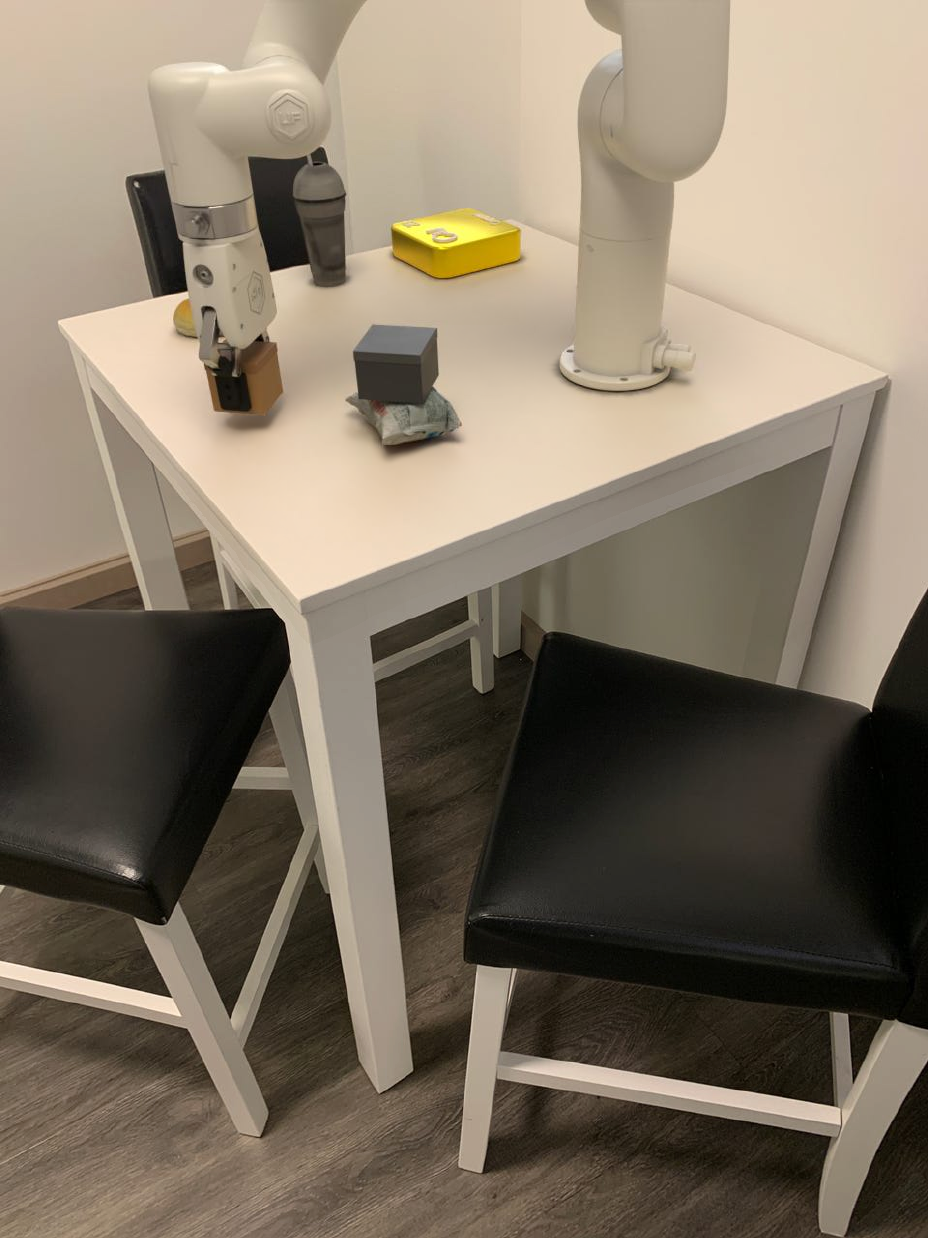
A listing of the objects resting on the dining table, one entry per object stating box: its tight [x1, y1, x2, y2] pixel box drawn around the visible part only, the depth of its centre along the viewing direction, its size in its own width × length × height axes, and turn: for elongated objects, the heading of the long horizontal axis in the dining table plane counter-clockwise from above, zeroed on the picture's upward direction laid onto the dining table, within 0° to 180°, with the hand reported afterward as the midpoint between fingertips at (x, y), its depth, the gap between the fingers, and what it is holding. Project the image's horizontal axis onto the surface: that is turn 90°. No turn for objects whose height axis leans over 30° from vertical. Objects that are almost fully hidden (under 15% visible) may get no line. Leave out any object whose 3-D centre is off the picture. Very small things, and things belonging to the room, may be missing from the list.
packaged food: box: [345, 385, 463, 446], centre depth 96 cm, size 9×12×5 cm
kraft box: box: [203, 339, 284, 416], centre depth 97 cm, size 6×6×6 cm
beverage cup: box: [292, 154, 347, 288], centre depth 126 cm, size 7×7×20 cm
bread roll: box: [172, 298, 198, 338], centre depth 119 cm, size 8×9×4 cm
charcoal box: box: [352, 323, 440, 404], centre depth 92 cm, size 7×7×5 cm
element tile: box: [390, 207, 522, 279], centre depth 138 cm, size 15×15×5 cm
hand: (248, 394), depth 98 cm, fingers closed on kraft box, 5 cm apart
